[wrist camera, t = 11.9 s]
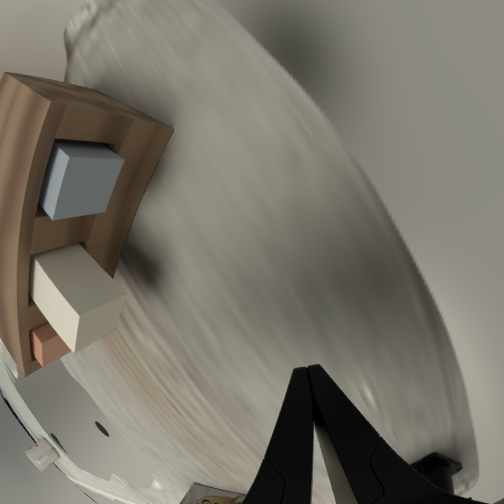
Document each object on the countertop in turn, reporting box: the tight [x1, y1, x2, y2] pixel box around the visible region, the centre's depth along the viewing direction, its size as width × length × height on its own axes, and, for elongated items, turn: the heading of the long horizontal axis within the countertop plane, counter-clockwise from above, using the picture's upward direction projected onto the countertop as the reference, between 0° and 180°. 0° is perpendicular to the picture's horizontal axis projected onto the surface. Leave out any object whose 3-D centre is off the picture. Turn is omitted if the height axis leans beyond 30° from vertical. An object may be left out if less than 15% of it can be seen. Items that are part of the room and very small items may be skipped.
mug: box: [25, 439, 59, 472], centre depth 51 cm, size 12×9×11 cm
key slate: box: [38, 139, 125, 220], centre depth 13 cm, size 6×4×4 cm, turn 58°
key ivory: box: [28, 243, 127, 354], centre depth 15 cm, size 6×4×4 cm, turn 58°
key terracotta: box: [29, 322, 71, 367], centre depth 18 cm, size 6×4×4 cm, turn 58°
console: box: [0, 72, 174, 377], centre depth 18 cm, size 12×22×10 cm, turn 148°
